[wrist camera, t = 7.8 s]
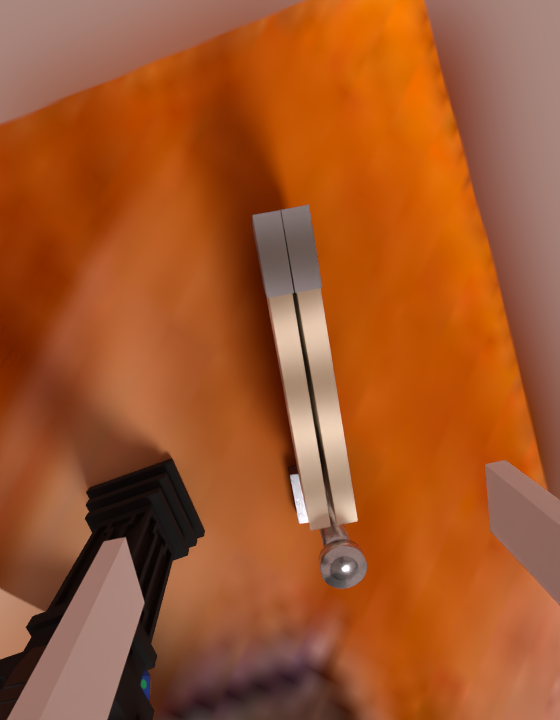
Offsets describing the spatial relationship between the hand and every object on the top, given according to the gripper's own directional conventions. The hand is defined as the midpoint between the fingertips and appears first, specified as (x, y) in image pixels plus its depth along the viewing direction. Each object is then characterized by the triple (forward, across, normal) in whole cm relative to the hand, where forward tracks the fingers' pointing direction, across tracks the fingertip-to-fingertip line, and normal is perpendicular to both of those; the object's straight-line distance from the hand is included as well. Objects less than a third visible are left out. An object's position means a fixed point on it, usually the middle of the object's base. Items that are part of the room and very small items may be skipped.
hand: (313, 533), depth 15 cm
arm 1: (+21, -3, -2) cm, 21 cm away
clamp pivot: (+23, -2, +11) cm, 25 cm away
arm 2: (+21, -1, -2) cm, 21 cm away
